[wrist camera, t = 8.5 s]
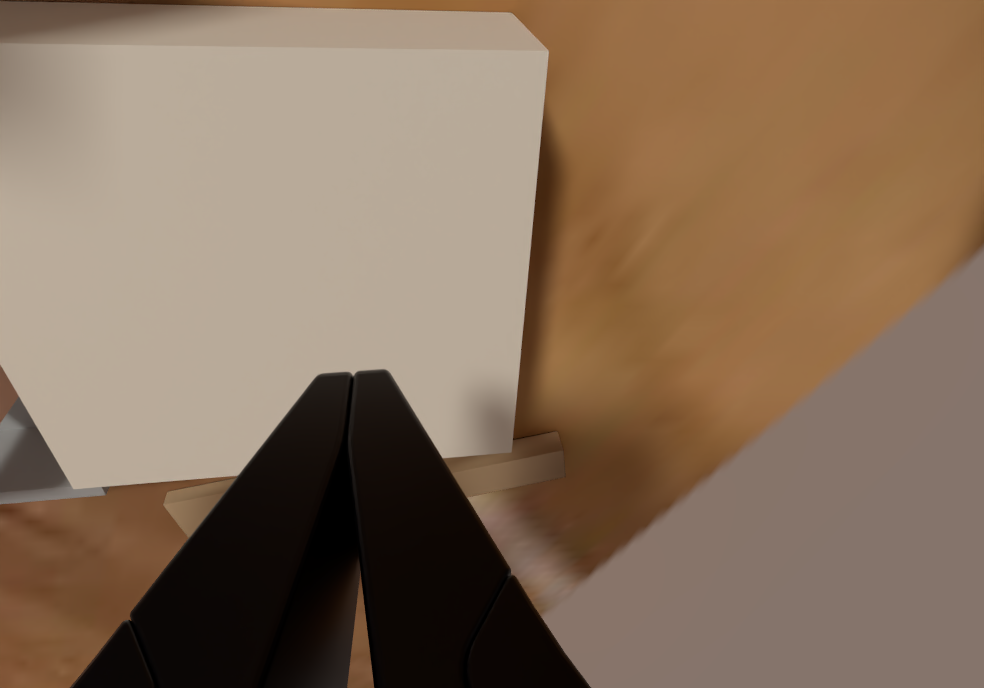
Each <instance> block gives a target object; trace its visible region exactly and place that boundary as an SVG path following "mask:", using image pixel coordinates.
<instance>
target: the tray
mask: <svg viewBox="0 0 984 688" xmlns="http://www.w3.org/2000/svg"><path fill="white" fill-rule="evenodd" d="M109 487H110V486H107V487H95V488H83V489H73V488H72V486H71V484H70V482H69V481H68V479H67V477H66V476H65V474H64V472H63V470H62V469H61V467H60V465H59V464H58V462H57V460H56V459H55V457H54V455H53V453H52V452H51V450H50V448H49V447H48V445H47V443H46V442H45V440H44V438H43V436H42V435H41V433H40V431H39V430H38V428H37V426H36V424H35V423H34V421H33V419H32V418H31V416H30V414H29V413H28V411H27V409H26V407H25V406H24V404H23V402H22V401H21V399H20V397H18V398H17V400H16V401H15V403H14V404H13V406H12V407H11V409H10V410H9V411H8V413H7V414H6V416H5V417H4V419H3V420H2V422H1V423H0V504H8V503H20V502H31V501H43V500H55V499H66V498H78V497H90V496H101V495H106V494H107V491H108V489H109Z"/></svg>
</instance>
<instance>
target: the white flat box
mask: <svg viewBox="0 0 984 688" xmlns="http://www.w3.org/2000/svg"><path fill="white" fill-rule="evenodd" d="M548 55H549V51H548V50H547V49H546V47H545V46H544V45H543V44H542V43H541V42H540V41H539V40H538V39H537V38H536V37H535V36H534V35H533V34H532V33H531V32H530V31H529V30H528V29H527V28H526V27H525V26H524V25H523V24H522V23H521V22H520V21H519V20H518V19H517V18H516V17H515V16H514V15H513V14H512V13H507V12H463V11H420V10H376V9H333V8H289V7H245V6H202V5H158V4H115V3H71V2H27V1H0V365H1V367H2V368H3V370H4V372H5V373H6V375H7V377H8V379H9V380H10V382H11V384H12V385H13V387H14V389H15V390H16V392H17V394H18V396H19V397H20V399H21V401H22V402H23V404H24V406H25V407H26V409H27V411H28V413H29V414H30V416H31V418H32V419H33V421H34V423H35V424H36V426H37V428H38V430H39V431H40V433H41V435H42V436H43V438H44V440H45V442H46V443H47V445H48V447H49V448H50V450H51V452H52V453H53V455H54V457H55V459H56V460H57V462H58V464H59V465H60V467H61V469H62V470H63V472H64V474H65V476H66V477H67V479H68V481H69V482H70V484H71V486H72V488H73V489H83V488H95V487H107V486H119V485H131V484H143V483H154V482H166V481H178V480H190V479H202V478H214V477H226V476H238V475H239V474H240V472H241V471H242V470H243V469H244V467H245V466H246V465H247V463H248V462H249V461H250V460H251V458H252V457H253V456H254V454H255V453H256V452H257V451H258V449H259V448H260V447H261V446H262V444H263V443H264V442H265V440H266V439H267V438H268V437H269V435H270V434H271V433H272V432H273V430H274V429H275V428H276V426H277V425H278V424H279V423H280V421H281V420H282V419H283V418H284V416H285V415H286V414H287V412H288V411H289V410H290V409H291V407H292V406H293V405H294V404H295V402H296V401H297V400H298V398H299V397H300V396H301V395H302V393H303V392H304V391H305V390H306V388H307V387H308V386H309V384H310V383H311V382H312V381H313V379H314V378H315V377H316V376H317V375H319V374H322V373H332V372H350V373H352V375H353V376H354V374H355V373H356V372H357V371H361V370H376V369H386V370H388V371H389V372H390V373H391V375H392V376H393V378H394V380H395V381H396V383H397V385H398V386H399V388H400V389H401V391H402V393H403V394H404V396H405V398H406V399H407V401H408V403H409V404H410V406H411V407H412V409H413V411H414V412H415V414H416V416H417V417H418V419H419V420H420V422H421V424H422V425H423V427H424V429H425V430H426V432H427V433H428V435H429V437H430V438H431V440H432V442H433V443H434V445H435V447H436V448H437V450H438V451H439V453H440V455H441V456H442V458H452V457H464V456H476V455H488V454H500V453H511V452H512V443H513V432H514V422H515V411H516V400H517V389H518V378H519V368H520V357H521V346H522V335H523V324H524V314H525V303H526V292H527V281H528V270H529V260H530V249H531V238H532V227H533V216H534V206H535V195H536V184H537V173H538V162H539V152H540V141H541V130H542V119H543V108H544V98H545V87H546V76H547V65H548Z"/></svg>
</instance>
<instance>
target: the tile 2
mask: <svg viewBox="0 0 984 688" xmlns="http://www.w3.org/2000/svg"><path fill="white" fill-rule="evenodd" d="M18 397H19V396H18V394H17V392H16V390H15V389H14V387H13V385H12V384H11V382H10V380H9V379H8V377H7V375H6V373H5V372H4V370H3V368H2V367H1V365H0V423H1V422H2V420H3V419H4V417H5V416H6V414H7V413H8V411H9V410H10V409H11V407H12V406H13V404H14V403H15V401H16V400H17V398H18Z"/></svg>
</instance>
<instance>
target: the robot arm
mask: <svg viewBox="0 0 984 688" xmlns="http://www.w3.org/2000/svg"><path fill="white" fill-rule="evenodd" d="M360 571H361V579H362V588H363V596H364V605H365V613H366V622H367V630H368V638H369V647H370V655H371V664H372V672H373V681H374V688H591V687H590V686H589V684H588V683H587V682H586V680H585V679H584V678H583V676H582V675H581V674H580V672H579V671H578V670H577V669H576V667H575V666H574V665H573V663H572V662H571V660H570V659H569V658H568V656H567V655H566V654H565V653H564V651H563V649H562V648H561V646H560V645H559V643H558V642H557V640H556V639H555V637H554V636H553V634H552V633H551V631H550V630H549V628H548V627H547V625H546V624H545V622H544V621H543V619H542V618H541V616H540V615H539V613H538V612H537V610H536V609H535V607H534V605H533V604H532V602H531V601H530V599H529V597H528V596H527V594H526V592H525V591H524V589H523V588H522V586H521V584H520V583H519V581H518V579H517V578H516V577H515V576H514V575H511V569H510V567H509V565H508V564H507V562H506V561H505V559H504V557H503V556H502V554H501V552H500V551H499V549H498V548H497V546H496V544H495V543H494V541H493V539H492V538H491V536H490V534H489V533H488V531H487V530H486V528H485V526H484V525H483V523H482V521H481V520H480V518H479V517H478V515H477V513H476V512H475V510H474V508H473V507H472V505H471V504H470V502H469V500H468V499H467V497H466V495H465V494H464V492H463V490H462V489H461V487H460V486H459V484H458V482H457V481H456V479H455V477H454V476H453V474H452V473H451V471H450V469H449V468H448V466H447V464H446V463H445V461H444V460H443V458H442V456H441V455H440V453H439V451H438V450H437V448H436V447H435V445H434V443H433V442H432V440H431V438H430V437H429V435H428V433H427V432H426V430H425V429H424V427H423V425H422V424H421V422H420V420H419V419H418V417H417V416H416V414H415V412H414V411H413V409H412V407H411V406H410V404H409V403H408V401H407V399H406V398H405V396H404V394H403V393H402V391H401V389H400V388H399V386H398V385H397V383H396V381H395V380H394V378H393V376H392V375H391V373H390V372H389V371H388V370H386V369H376V370H361V371H357V372H356V373H355V374H354V376H353V375H352V373H350V372H332V373H322V374H319V375H317V376H316V377H315V378H314V379H313V381H312V382H311V383H310V384H309V386H308V387H307V388H306V390H305V391H304V392H303V393H302V395H301V396H300V397H299V398H298V400H297V401H296V402H295V404H294V405H293V406H292V407H291V409H290V410H289V411H288V412H287V414H286V415H285V416H284V418H283V419H282V420H281V421H280V423H279V424H278V425H277V426H276V428H275V429H274V430H273V432H272V433H271V434H270V435H269V437H268V438H267V439H266V440H265V442H264V443H263V444H262V446H261V447H260V448H259V449H258V451H257V452H256V453H255V454H254V456H253V457H252V458H251V460H250V461H249V462H248V463H247V465H246V466H245V467H244V469H243V470H242V471H241V472H240V474H239V475H238V476H237V477H236V479H235V480H234V481H233V483H232V484H231V485H230V486H229V488H228V489H227V490H226V491H225V493H224V494H223V495H222V497H221V498H220V499H219V500H218V502H217V503H216V504H215V505H214V507H213V508H212V509H211V511H210V512H209V513H208V514H207V516H206V517H205V518H204V519H203V521H202V522H201V523H200V525H199V526H198V527H197V528H196V530H195V531H194V532H193V534H192V535H191V536H190V537H189V539H188V540H187V541H186V542H185V544H184V545H183V546H182V548H181V549H180V550H179V551H178V553H177V554H176V555H175V556H174V558H173V559H172V560H171V562H170V563H169V564H168V565H167V567H166V568H165V569H164V570H163V572H162V573H161V574H160V576H159V577H158V578H157V579H156V581H155V582H154V583H153V584H152V586H151V587H150V588H149V590H148V591H147V592H146V593H145V595H144V596H143V597H142V599H141V600H140V601H139V602H138V604H137V605H136V606H135V607H134V609H133V610H132V611H131V613H130V618H131V620H132V621H130V620H125V621H123V622H122V623H121V625H120V626H119V627H118V629H117V630H116V631H115V632H114V634H113V635H112V636H111V637H110V639H109V640H108V641H107V643H106V644H105V645H104V646H103V648H102V649H101V650H100V651H99V653H98V654H97V655H96V657H95V658H94V659H93V660H92V662H91V663H90V664H89V665H88V666H87V668H86V669H85V670H84V671H83V672H82V674H81V675H80V676H79V677H78V679H77V680H76V681H75V682H74V683H73V685H72V686H71V687H70V688H347V683H348V675H349V666H350V657H351V648H352V640H353V631H354V622H355V614H356V605H357V596H358V587H359V579H360Z"/></svg>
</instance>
